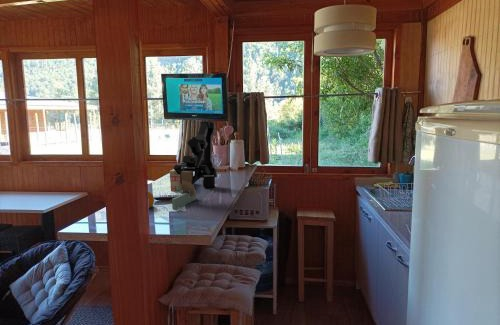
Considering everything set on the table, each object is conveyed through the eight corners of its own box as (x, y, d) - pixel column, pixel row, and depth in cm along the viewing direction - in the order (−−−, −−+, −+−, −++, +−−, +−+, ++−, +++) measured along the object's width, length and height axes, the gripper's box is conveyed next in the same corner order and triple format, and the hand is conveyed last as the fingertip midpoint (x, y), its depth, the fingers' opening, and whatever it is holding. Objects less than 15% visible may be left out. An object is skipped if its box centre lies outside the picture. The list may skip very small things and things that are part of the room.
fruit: (146, 212, 173) (144, 191, 171) (124, 211, 176) (122, 190, 175) (159, 205, 184) (157, 185, 182) (138, 204, 187) (137, 185, 186)
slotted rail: (193, 198, 194) (193, 189, 193) (196, 199, 193) (195, 189, 192) (172, 209, 175) (171, 198, 175) (175, 209, 175) (174, 199, 174)
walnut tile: (184, 195, 190) (182, 171, 188) (194, 195, 187) (193, 171, 185) (182, 196, 188) (180, 171, 186) (192, 196, 186) (191, 172, 184)
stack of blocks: (184, 183, 235) (182, 164, 234) (193, 183, 234) (192, 164, 232) (170, 191, 215) (169, 170, 213) (180, 191, 213) (179, 170, 212)
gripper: (173, 149, 191) (163, 174, 183) (205, 149, 184) (196, 175, 176) (183, 161, 199) (173, 186, 191) (214, 162, 193) (205, 187, 184)
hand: (186, 183), depth 185 cm, fingers closed on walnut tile, 6 cm apart
